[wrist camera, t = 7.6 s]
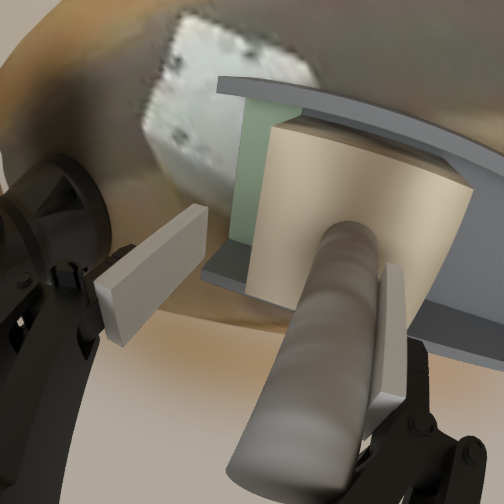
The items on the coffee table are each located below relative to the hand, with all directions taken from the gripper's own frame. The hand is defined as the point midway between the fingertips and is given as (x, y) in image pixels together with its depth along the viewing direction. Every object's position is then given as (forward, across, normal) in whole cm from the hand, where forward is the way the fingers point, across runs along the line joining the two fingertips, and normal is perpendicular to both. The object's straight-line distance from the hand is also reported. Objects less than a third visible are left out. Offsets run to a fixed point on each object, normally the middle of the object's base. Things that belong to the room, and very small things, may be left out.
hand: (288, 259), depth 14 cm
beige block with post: (+10, +2, 0) cm, 10 cm away
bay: (+11, +8, 0) cm, 14 cm away
